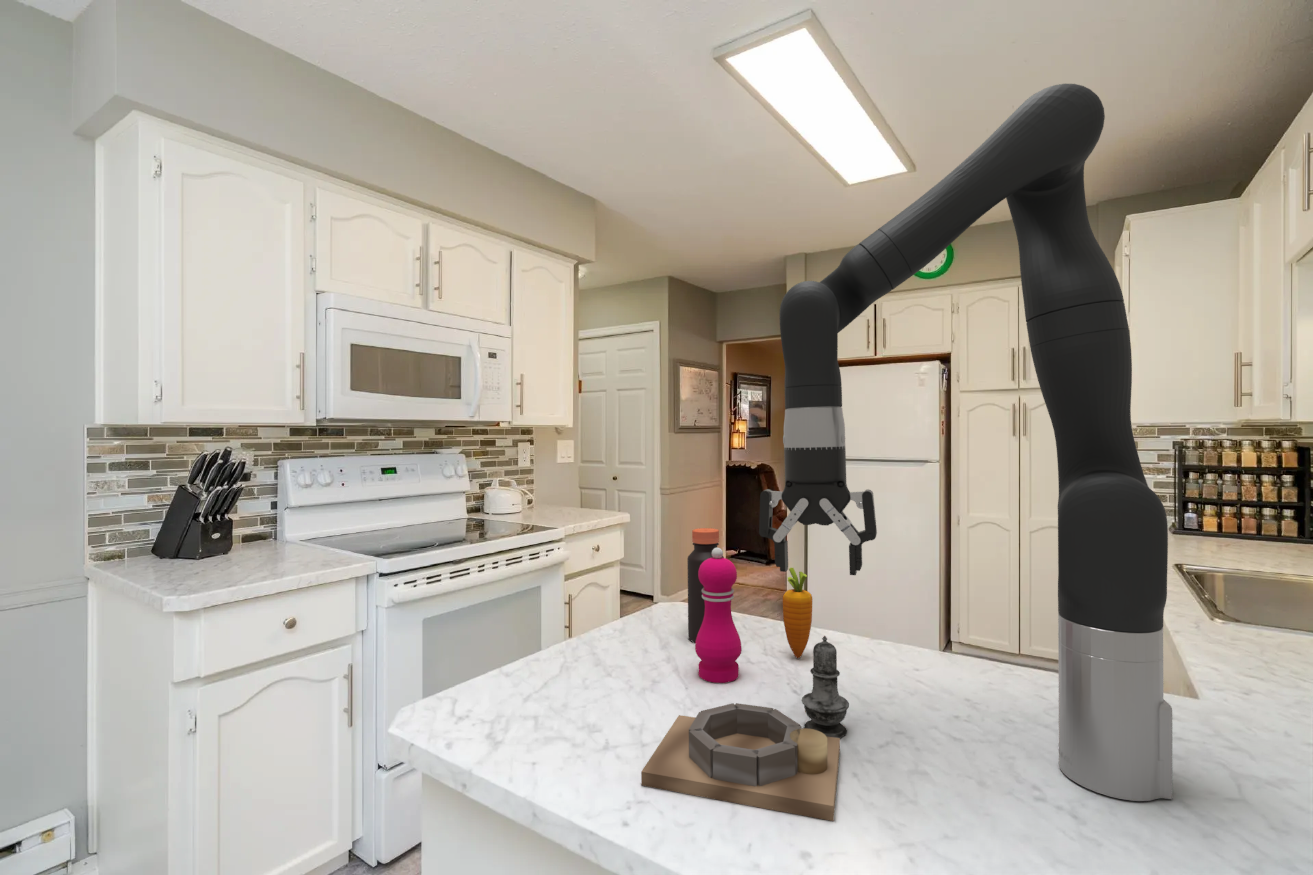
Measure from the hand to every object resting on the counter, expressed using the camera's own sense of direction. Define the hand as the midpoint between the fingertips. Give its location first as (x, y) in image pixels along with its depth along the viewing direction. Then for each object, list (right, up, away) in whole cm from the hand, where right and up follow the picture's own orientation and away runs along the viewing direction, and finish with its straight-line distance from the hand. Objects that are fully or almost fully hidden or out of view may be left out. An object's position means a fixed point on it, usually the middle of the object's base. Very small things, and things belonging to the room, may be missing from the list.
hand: (817, 572), depth 79 cm
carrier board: (-10, -20, -8) cm, 24 cm away
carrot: (+3, -20, +25) cm, 32 cm away
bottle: (-11, -20, +36) cm, 42 cm away
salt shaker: (+1, -20, +1) cm, 20 cm away
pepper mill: (-11, -20, +18) cm, 29 cm away
